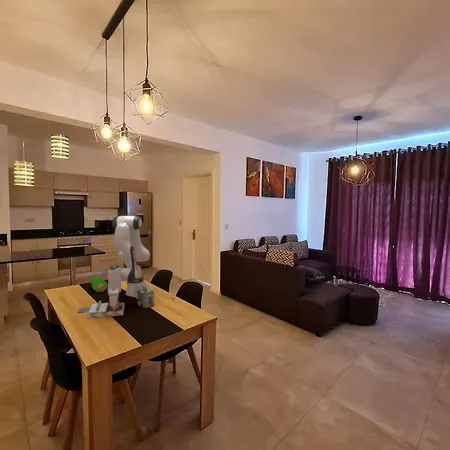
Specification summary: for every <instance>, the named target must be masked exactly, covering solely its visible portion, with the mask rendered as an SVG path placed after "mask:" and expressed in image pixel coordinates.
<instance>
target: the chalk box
mask: <svg viewBox="0 0 450 450" xmlns="http://www.w3.org/2000/svg"><path fill="white" fill-rule="evenodd" d="M144 288H145V287H143V290H140V291H137V292H138V297H137V305H138V306H139V307H140V308H142V309H147V308H151V307H153V306H155V303H154V302H155V301H154V300H155V298H154V297H155V296H154V295H155V294H154V290H153V289H152V290H153V291H152V290H150V289H151V288H150V289H146V288H145V289H144Z"/></svg>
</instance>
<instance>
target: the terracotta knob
mask: <svg viewBox="0 0 450 450" xmlns="http://www.w3.org/2000/svg"><path fill="white" fill-rule="evenodd" d="M119 303H120V300H117V304H116V310H113V307H111V311H119Z"/></svg>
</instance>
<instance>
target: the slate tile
mask: <svg viewBox="0 0 450 450" xmlns="http://www.w3.org/2000/svg"><path fill="white" fill-rule="evenodd" d="M90 308H91V306H90V307H80V308H79V309H78V311H77V313H78V314H82V313H85V312H89V310H90Z"/></svg>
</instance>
